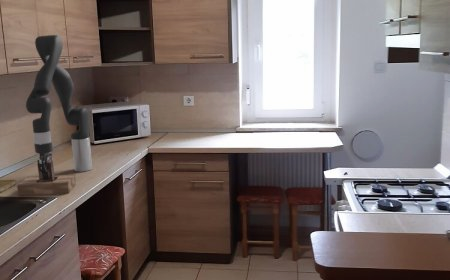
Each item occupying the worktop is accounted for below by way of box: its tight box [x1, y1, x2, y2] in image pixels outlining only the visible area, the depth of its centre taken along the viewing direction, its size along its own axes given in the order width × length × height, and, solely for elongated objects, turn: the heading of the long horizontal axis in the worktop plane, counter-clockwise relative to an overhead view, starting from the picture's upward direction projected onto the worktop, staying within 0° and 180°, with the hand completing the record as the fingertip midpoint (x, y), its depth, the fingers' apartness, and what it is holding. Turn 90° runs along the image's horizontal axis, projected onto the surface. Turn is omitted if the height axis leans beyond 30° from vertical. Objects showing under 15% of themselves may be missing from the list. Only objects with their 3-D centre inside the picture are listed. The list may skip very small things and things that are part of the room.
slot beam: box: [16, 174, 77, 197], centre depth 220 cm, size 14×22×5 cm, turn 94°
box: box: [37, 160, 56, 182], centre depth 219 cm, size 6×4×12 cm
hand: (47, 178), depth 220 cm, fingers closed on box, 4 cm apart
